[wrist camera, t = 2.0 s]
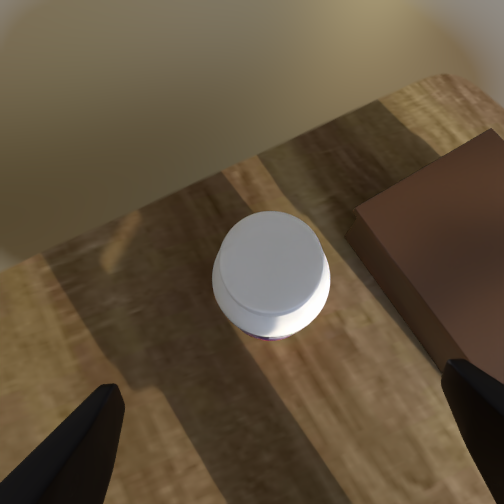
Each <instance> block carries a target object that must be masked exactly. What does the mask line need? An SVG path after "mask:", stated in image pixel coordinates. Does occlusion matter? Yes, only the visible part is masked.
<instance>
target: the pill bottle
mask: <svg viewBox="0 0 504 504" xmlns="http://www.w3.org/2000/svg"><path fill="white" fill-rule="evenodd" d="M212 286H213V291H214V295H215V298H216V301H217V303H218V305H219V307H220V308H221V310H222V312H223V313H224V314H225V315H226V317H227V318H228V319H229V320H230V321H231V322H232V323H233V324H234V325H236V326H237V327H238V328H240V329H241V330H242V331H243V332H244V333H246V334H247V335H249V336H251V337H254V338H256V339H260V340H265V341H275V340H281V339H284V338H287V337H289V336H291V335H293V334H294V333H296V332H298V331H300V330H301V329H303V328H304V327H306V326H307V325H308V324H309V323H311V322H312V321H313V320H314V319H315V317H316V316H317V315H318V314H319V312H320V311H321V309H322V308H323V306H324V304H325V302H326V299H327V297H328V293H329V289H330V270H329V265H328V262H327V259H326V256H325V254H324V252H323V250H322V246H321V244H320V241H319V239H318V238H317V236H316V234H315V233H314V232H313V230H312V229H311V228H310V227H309V226H308V225H307V224H306V223H305V222H303V221H302V220H300V219H299V218H297V217H295V216H293V215H290V214H287V213H283V212H278V211H264V212H258V213H255V214H252V215H250V216H247V217H245V218H244V219H242V220H241V221H239V222H238V223H237V224H236V225H234V226H233V227H232V228H231V230H230V231H229V232H228V234H227V235H226V237H225V238H224V240H223V243H222V245H221V248H220V250H219V252H218V254H217V257H216V259H215V262H214V266H213V272H212Z"/></svg>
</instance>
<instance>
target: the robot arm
mask: <svg viewBox="0 0 504 504" xmlns="http://www.w3.org/2000/svg"><path fill="white" fill-rule="evenodd" d="M441 386H442V389H443V392H444V394H445V397H446V399H447V401H448V404H449V406H450V409H451V411H452V414H453V416H454V418H455V421H456V423H457V426H458V428H459V431H460V433H461V435H462V438H463V440H464V442H465V444H466V447H467V449H468V451H469V453H470V455H471V457H472V458H473V460H474V462H475V464H476V466H477V468H478V470H479V472H480V473H481V475H482V477H483V479H484V481H485V483H486V485H487V487H488V488H489V490H490V492H491V494H492V496H493V498H494V500H495V502H496V504H504V384H503V383H501V382H500V381H498V380H497V379H495V378H493V377H492V376H490V375H489V374H487V373H486V372H484V371H483V370H481V369H480V368H478V367H477V366H475V365H474V364H472V363H470V362H469V361H467V360H466V359H463V358H457V359H448V360H447V361H446V363H445V367H444V371H443V375H442V379H441ZM124 412H125V404H124V401H123V398H122V395H121V393H120V390H119V388H118V386H117V385H116V384H114V383H113V384H102V385H100V386H99V387H98V388H97V389H96V390H94V391H93V392H92V393H91V394H90V395H89V396H88V397H87V398H86V399H85V400H84V401H83V402H82V403H81V404H80V405H79V406H78V407H77V408H76V409H75V410H74V411H73V412H72V413H71V414H70V415H69V416H68V417H67V418H66V419H65V420H64V421H63V422H62V423H61V424H60V425H59V426H58V427H57V428H56V429H55V430H54V431H53V432H52V433H51V434H50V435H49V436H48V437H47V438H46V439H45V440H44V441H42V442H41V443H40V444H39V445H38V446H37V447H36V448H35V449H34V450H33V451H32V452H31V453H30V454H29V455H28V456H27V457H26V458H25V459H24V460H23V461H22V462H21V463H20V464H19V465H18V466H17V467H16V468H15V469H14V470H13V471H12V472H11V473H10V474H9V475H8V476H7V477H6V478H5V479H4V480H3V481H2V482H1V483H0V504H103V502H104V499H105V495H106V492H107V489H108V486H109V482H110V479H111V475H112V472H113V468H114V463H115V458H116V453H117V448H118V443H119V438H120V433H121V428H122V422H123V417H124Z"/></svg>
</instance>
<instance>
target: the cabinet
mask: <svg viewBox="0 0 504 504" xmlns="http://www.w3.org/2000/svg"><path fill="white" fill-rule="evenodd" d="M353 213H354V215H355V216H356V217H357V218H356V220H355V221H354V223H353V224H352V226H351V227H350V229H349V230H348V232H347V234H346V235H345V238H346V240H347V241H348V243H349V244H350V245H351V247H352V248H353V250H354V251H355V252H356V254H357V255H358V257H359V258H360V259H361V261H362V262H363V264H364V265H365V266H366V268H367V269H368V270H369V272H370V273H371V275H372V276H373V277H374V279H375V280H376V282H377V283H378V284H379V286H380V287H381V289H382V290H383V291H384V293H385V294H386V296H387V297H388V298H389V300H390V301H391V303H392V304H393V305H394V307H395V308H396V309H397V311H398V312H399V314H400V315H401V316H402V318H403V319H404V321H405V322H406V323H407V325H408V326H409V328H410V329H411V330H412V332H413V333H414V335H415V336H416V337H417V339H418V340H419V342H420V343H421V344H422V346H423V347H424V348H425V350H426V351H427V353H428V354H429V355H430V357H431V358H432V360H433V361H434V362H435V364H436V365H437V367H438V368H439V369H440V371H441V372H442V374H443V371H444V367H445V363H446V361H447V360H448V359H457V358H463V359H466V360H467V361H469V362H470V363H472V364H474V365H475V366H477V367H478V368H480V369H481V370H483V371H484V372H486V373H487V374H489V375H490V376H492V377H493V378H495V379H497V380H498V381H500V382H501V383H503V384H504V140H503V139H502V138H501V137H500V136H499V135H498V134H497V133H496V132H495V131H494V130H493V129H492V128H490V129H489V130H487V131H485V132H483V133H482V134H480V135H478V136H477V137H475V138H473V139H471V140H470V141H468V142H466V143H465V144H463V145H461V146H459V147H458V148H456V149H454V150H453V151H451V152H449V153H447V154H446V155H444V156H442V157H441V158H439V159H437V160H435V161H434V162H432V163H430V164H429V165H427V166H425V167H423V168H422V169H420V170H418V171H417V172H415V173H413V174H411V175H410V176H408V177H406V178H405V179H403V180H401V181H399V182H398V183H396V184H394V185H393V186H391V187H389V188H387V189H386V190H384V191H382V192H381V193H379V194H377V195H375V196H374V197H372V198H370V199H369V200H367V201H365V202H363V203H362V204H360V205H358V206H357V207H355V208H354V210H353Z"/></svg>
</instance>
